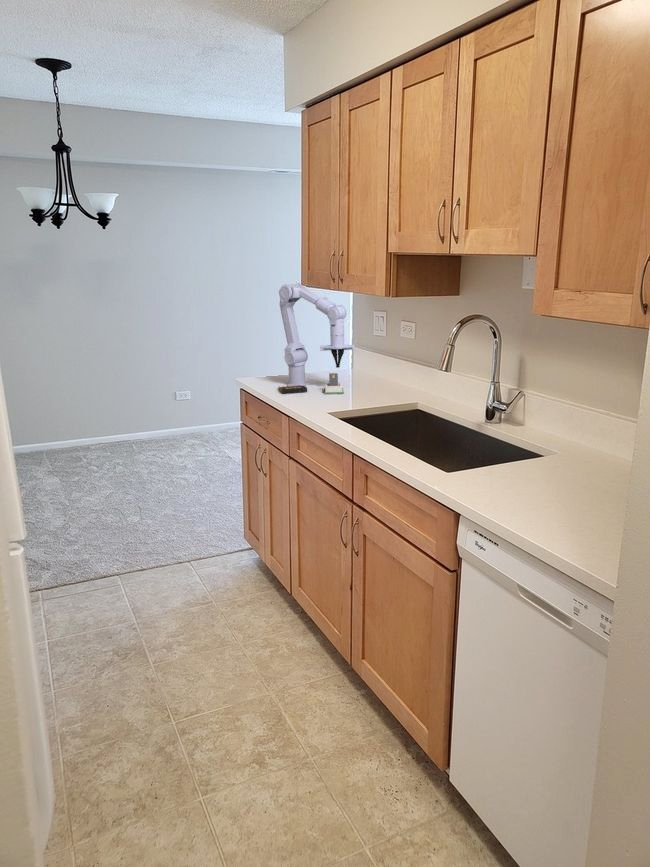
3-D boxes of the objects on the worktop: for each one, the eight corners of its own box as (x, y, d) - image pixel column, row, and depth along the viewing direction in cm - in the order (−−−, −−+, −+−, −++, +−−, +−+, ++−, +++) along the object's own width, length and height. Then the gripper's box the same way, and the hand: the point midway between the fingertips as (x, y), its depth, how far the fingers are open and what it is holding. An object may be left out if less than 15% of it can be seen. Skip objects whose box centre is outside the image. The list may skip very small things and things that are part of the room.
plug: (329, 389, 281) (329, 373, 279) (337, 389, 281) (337, 373, 280) (329, 391, 278) (329, 374, 276) (338, 391, 278) (337, 374, 276)
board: (324, 389, 285) (324, 382, 284) (342, 388, 285) (342, 382, 284) (324, 394, 275) (324, 387, 274) (343, 393, 275) (343, 386, 274)
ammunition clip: (307, 391, 280) (300, 387, 292) (307, 387, 280) (300, 383, 291) (282, 393, 277) (276, 389, 289) (282, 389, 277) (276, 385, 288)
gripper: (319, 336, 273) (320, 369, 276) (355, 335, 273) (355, 368, 276) (319, 334, 279) (320, 366, 283) (354, 333, 280) (354, 365, 283)
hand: (337, 367), depth 280 cm, fingers closed
